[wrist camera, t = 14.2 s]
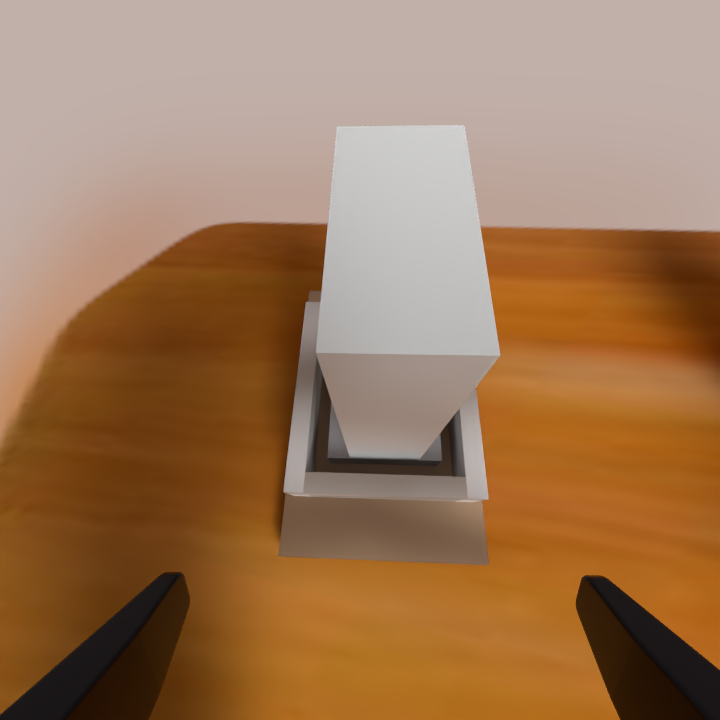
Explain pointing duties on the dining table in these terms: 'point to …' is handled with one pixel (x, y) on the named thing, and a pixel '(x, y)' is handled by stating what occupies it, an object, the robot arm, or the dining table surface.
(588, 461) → the dining table surface
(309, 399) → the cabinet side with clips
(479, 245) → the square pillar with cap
